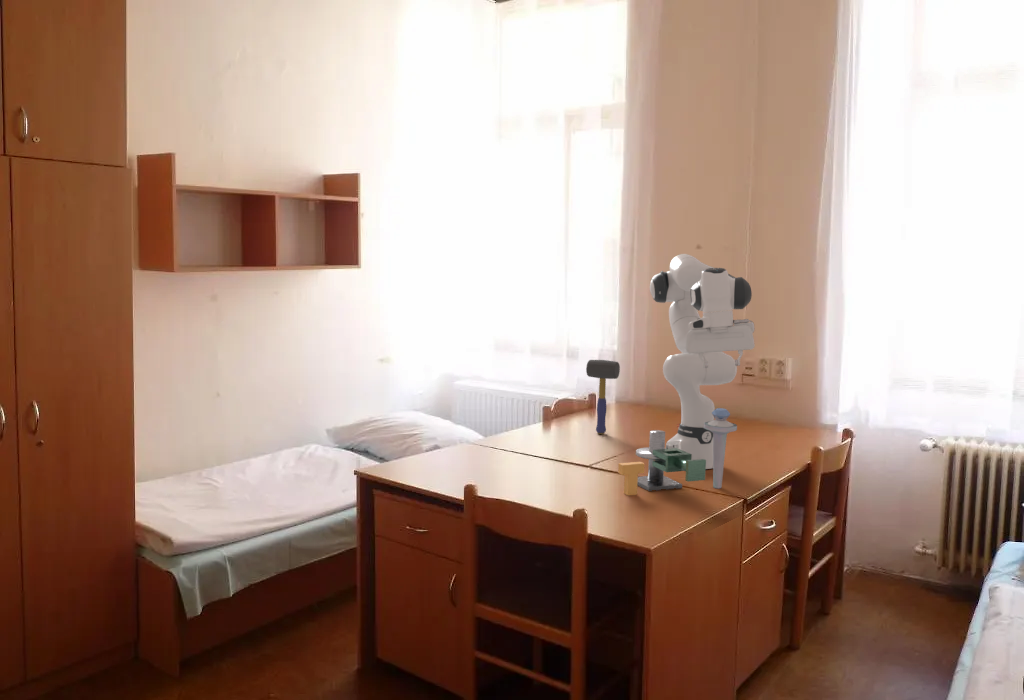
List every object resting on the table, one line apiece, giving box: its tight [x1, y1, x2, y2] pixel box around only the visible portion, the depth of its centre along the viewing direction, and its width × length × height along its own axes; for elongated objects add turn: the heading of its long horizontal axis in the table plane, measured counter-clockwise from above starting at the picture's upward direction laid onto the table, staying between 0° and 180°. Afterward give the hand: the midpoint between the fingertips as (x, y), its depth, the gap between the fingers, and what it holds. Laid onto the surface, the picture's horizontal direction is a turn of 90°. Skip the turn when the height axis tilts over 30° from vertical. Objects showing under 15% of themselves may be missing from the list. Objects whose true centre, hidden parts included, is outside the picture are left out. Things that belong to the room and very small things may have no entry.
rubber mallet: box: [585, 359, 621, 435], centre depth 346 cm, size 12×8×30 cm, turn 67°
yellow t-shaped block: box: [617, 461, 646, 496], centre depth 262 cm, size 2×8×10 cm, turn 112°
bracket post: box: [635, 429, 707, 492], centre depth 266 cm, size 29×13×17 cm, turn 22°
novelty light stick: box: [704, 407, 738, 489], centre depth 271 cm, size 10×10×25 cm
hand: (721, 366), depth 263 cm, fingers open, 8 cm apart
